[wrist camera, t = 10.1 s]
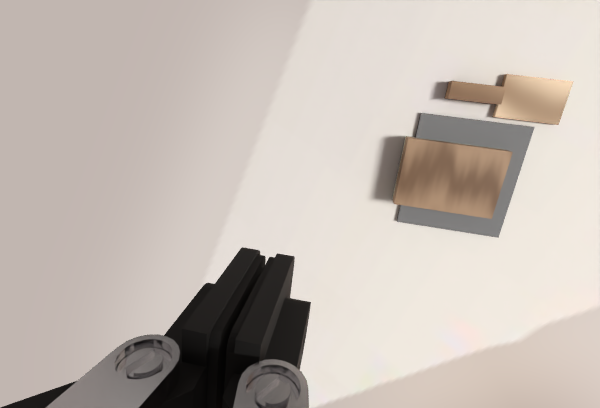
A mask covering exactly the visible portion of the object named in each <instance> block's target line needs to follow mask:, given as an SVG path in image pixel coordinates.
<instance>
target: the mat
mask: <svg viewBox="0 0 600 408" xmlns="http://www.w3.org/2000/svg"><path fill="white" fill-rule="evenodd" d="M533 130H534V127H529V126H521V125H513V124H505V123H497V122H489V121H481V120H473V119H465V118H457V117H449V116H441V115H433V114H425V113H421V114H420V119H419V124H418V128H417V133H416V137H415V138H423V139H430V140H438V141H445V142H453V143H460V144H468V145H475V146H483V147H490V148H498V149H505V150H508V151H511V152H513V153H512V156H511V160H510V163H509V166H508V169H507V172H506V175H505V179H504V182H503V185H502V188H501V191H500V194H499V198H498V201H497V204H496V207H495V210H494V213H493V217H492V219H489V218H482V217H476V216H469V215H463V214H456V213H450V212H443V211H437V210H430V209H424V208H417V207H411V206H404V205H400V209H399V214H398V218H397V222H403V223H410V224H416V225H422V226H429V227H435V228H441V229H447V230H454V231H460V232H466V233H473V234H479V235H485V236H492V237H499V234H500V231H501V228H502V225H503V222H504V219H505V216H506V212H507V209H508V206H509V203H510V200H511V197H512V194H513V191H514V188H515V185H516V182H517V179H518V176H519V173H520V170H521V167H522V164H523V160H524V157H525V154H526V151H527V148H528V145H529V142H530V139H531V136H532V133H533Z"/></svg>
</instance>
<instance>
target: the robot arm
mask: <svg viewBox="0 0 600 408" xmlns="http://www.w3.org/2000/svg"><path fill="white" fill-rule="evenodd" d="M293 268H294V256H288V255H283V254H277V255H276V257H275V258H273V257H269V259H268V261H267V263H266V265H265V256H262V255H260V251H259V250H254V249H248V248H241V249H240V251H239V252H238V253H237V255H236V256H235V257H234V259H233V260H232V261H231V263H230V264H229V266H228V267H227V268H226V270H225V271H224V272H223V274H222V275H221V276H220V278H219V279H218V280H217V282H216V283H215V284H211V283H206V284H205V285H204V286H203V287H202V288H201V289H200V291H199V292H198V293H197V295H196V296H195V297H194V298H193V300H192V301H191V302H190V303H189V305H188V306H187V307H186V309H185V310H184V311H183V312H182V313H181V315H180V316H179V317H178V319H177V320H176V321H175V322H174V324H173V325H172V326H171V327H170V329H169V330H168V331H167V332H166V334H165V335H164V336H162V335H144V336H140V337H136V338H133V339H131V340H128V341H126V342H125V343H124V344H122V345H120V346H119V347H117V348H116V349H115V350H114V351H112V352H111V353H110V354H109V355H108V356H106V357H105V358H104V359H103V360H102V361H101V362H99V363H98V364H97V365H96V366H95V367H93V368H92V369H91V370H90V371H89V372H87V373H86V374H85V375H84V376H83V377H81V378H80V379H79V380H78V381H76V382H73V383H70V384H67V385H64V386H61V387H58V388H55V389H52V390H50V391H47V392H44V393H41V394H38V395H35V396H32V397H29V398H27V399H24V400H21V401H18V402H15V403H12V404H9V405H7V406H4V407H1V408H309V398H308V385H307V381H306V379H305V377H304V375H303V374H302V372H301V371H300V365H301V359H302V354H303V349H304V343H305V338H306V332H307V325H308V319H309V312H310V304H311V302H307V301H301V300H296V299H291V298H290V293H291V285H292V276H293Z"/></svg>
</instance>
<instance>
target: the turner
mask: <svg viewBox="0 0 600 408" xmlns="http://www.w3.org/2000/svg"><path fill="white" fill-rule="evenodd" d="M572 84H573V81H564V80H555V79H546V78H537V77H528V76H519V75H510V74H505V75H504V78H503V82H502V85H501V86H492V85H483V84H474V83H466V82H457V81H449V83H448V87H447V91H446V95H445V98H446V99H455V100H463V101H472V102H480V103H488V104H496V106H495V110H494V113H493V117H499V118H507V119H515V120H523V121H532V122H540V123H548V124H556V125H559V122H560V119H561V116H562V113H563V110H564V107H565V104H566V102H567V99H568V96H569V93H570V90H571V87H572Z"/></svg>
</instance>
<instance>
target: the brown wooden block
mask: <svg viewBox="0 0 600 408" xmlns="http://www.w3.org/2000/svg"><path fill="white" fill-rule="evenodd" d="M512 153H513V152H511V151H508V150H505V149H498V148H490V147H483V146H475V145H468V144H460V143H453V142H445V141H438V140H430V139H423V138H415V137H408V136H406V137H405V142H404V146H403V151H402V156H401V160H400V165H399V170H398V174H397V179H396V184H395V188H394V193H393V198H392V200H393V202H394V204H398V205H404V206H411V207H417V208H424V209H430V210H437V211H443V212H450V213H456V214H463V215H469V216H476V217H482V218H489V219H492V217H493V213H494V210H495V207H496V204H497V201H498V198H499V194H500V191H501V188H502V185H503V182H504V179H505V175H506V172H507V169H508V166H509V163H510V160H511V156H512Z"/></svg>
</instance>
